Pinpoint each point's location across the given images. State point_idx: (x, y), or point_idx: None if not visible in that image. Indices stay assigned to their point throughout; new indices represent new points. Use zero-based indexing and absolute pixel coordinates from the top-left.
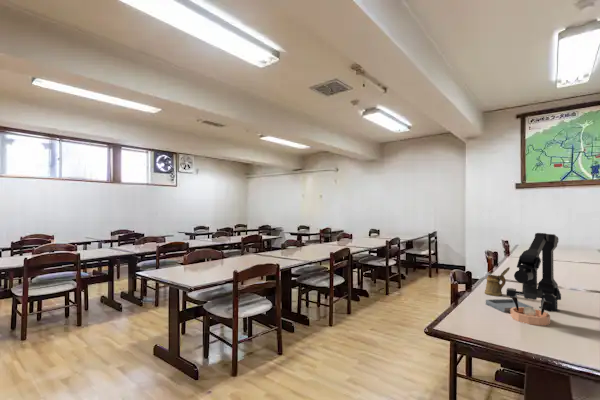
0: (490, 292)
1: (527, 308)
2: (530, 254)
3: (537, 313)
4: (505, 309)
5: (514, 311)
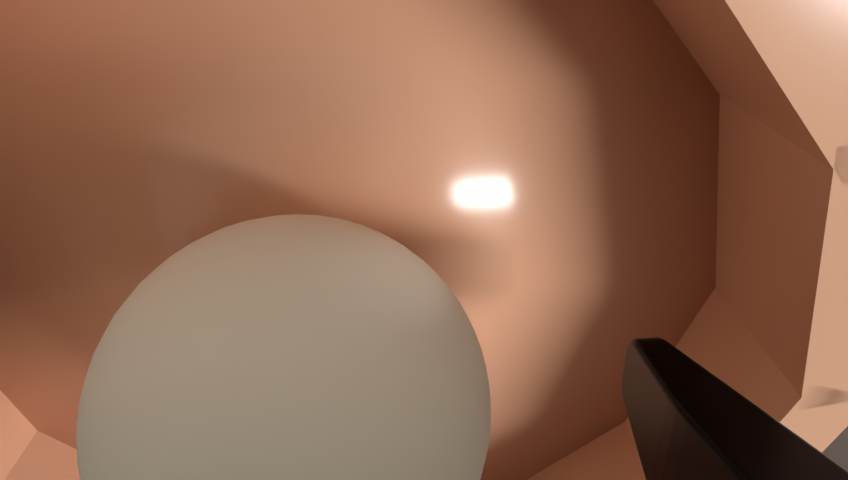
0: None
1: (337, 457)
2: None
3: None
4: (846, 461)
5: (842, 129)
